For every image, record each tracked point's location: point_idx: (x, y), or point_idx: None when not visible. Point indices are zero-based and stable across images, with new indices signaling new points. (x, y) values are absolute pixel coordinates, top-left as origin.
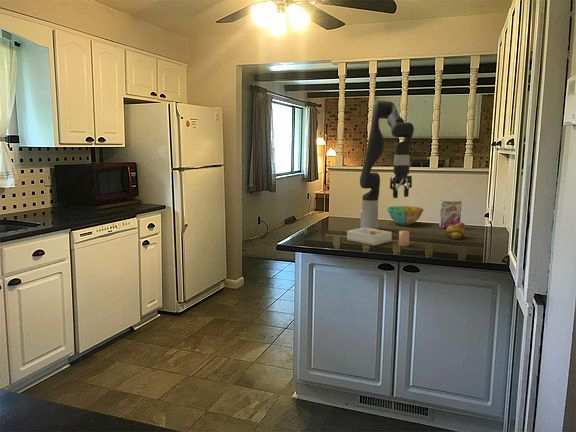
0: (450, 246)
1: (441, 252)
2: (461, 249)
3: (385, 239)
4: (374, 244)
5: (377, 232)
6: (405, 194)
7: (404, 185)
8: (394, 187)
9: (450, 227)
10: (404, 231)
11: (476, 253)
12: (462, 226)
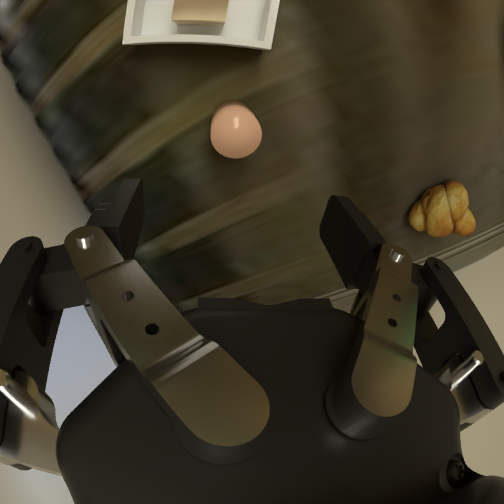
0: (315, 236)
1: (221, 252)
2: (294, 268)
3: (217, 44)
4: (140, 44)
5: (181, 20)
6: (334, 224)
7: (358, 306)
8: (41, 315)
9: (442, 212)
10: (237, 135)
11: (272, 302)
12: (455, 233)
